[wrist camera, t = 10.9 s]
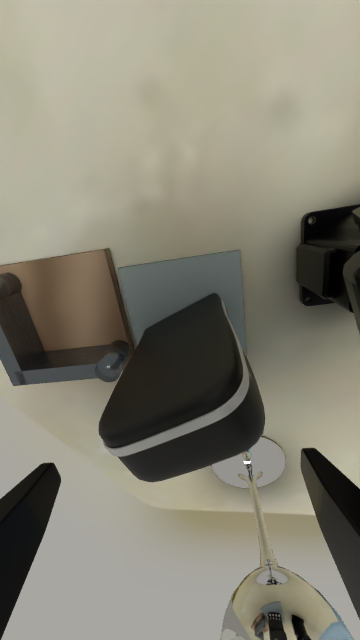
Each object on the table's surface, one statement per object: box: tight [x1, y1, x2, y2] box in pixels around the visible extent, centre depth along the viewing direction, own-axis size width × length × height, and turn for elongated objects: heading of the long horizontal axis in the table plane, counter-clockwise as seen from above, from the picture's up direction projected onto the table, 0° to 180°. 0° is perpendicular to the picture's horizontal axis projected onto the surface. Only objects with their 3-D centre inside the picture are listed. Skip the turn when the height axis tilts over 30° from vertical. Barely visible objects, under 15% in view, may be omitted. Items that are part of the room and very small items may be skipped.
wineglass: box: [212, 437, 354, 640], centre depth 16 cm, size 8×8×20 cm
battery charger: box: [99, 293, 265, 482], centre depth 14 cm, size 7×4×11 cm, turn 120°
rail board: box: [0, 248, 134, 370], centre depth 20 cm, size 11×10×1 cm
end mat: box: [118, 250, 247, 357], centre depth 20 cm, size 9×11×1 cm
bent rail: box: [0, 272, 131, 386], centre depth 18 cm, size 9×8×3 cm
